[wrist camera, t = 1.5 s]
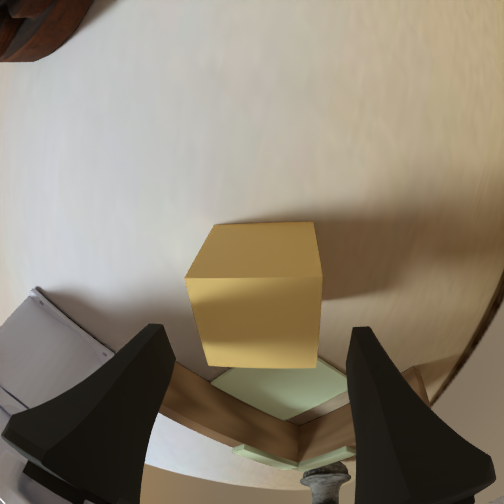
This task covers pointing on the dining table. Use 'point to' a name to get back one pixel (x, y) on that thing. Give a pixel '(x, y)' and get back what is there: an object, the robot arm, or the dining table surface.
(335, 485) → the grey stone finial
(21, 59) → the figurine
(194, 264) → the ochre block
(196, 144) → the dining table surface
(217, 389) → the walnut walls
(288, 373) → the sage pad
